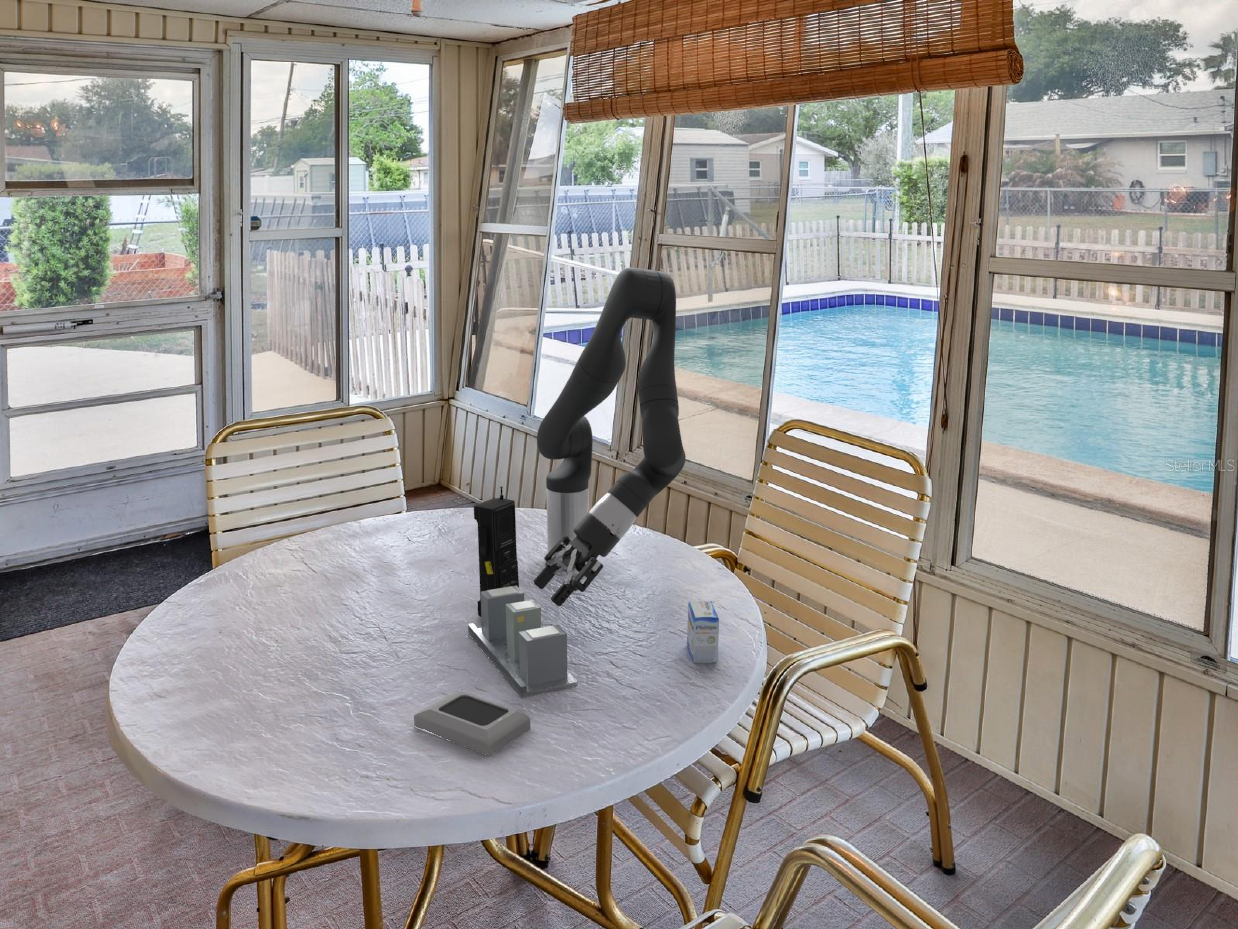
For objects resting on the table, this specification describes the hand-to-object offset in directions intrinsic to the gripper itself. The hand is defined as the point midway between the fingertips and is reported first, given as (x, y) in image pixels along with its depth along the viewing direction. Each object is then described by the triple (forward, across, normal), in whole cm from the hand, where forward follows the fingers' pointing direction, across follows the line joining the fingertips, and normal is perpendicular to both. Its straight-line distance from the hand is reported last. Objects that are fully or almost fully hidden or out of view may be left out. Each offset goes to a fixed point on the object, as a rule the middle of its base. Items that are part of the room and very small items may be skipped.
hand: (545, 594), depth 181 cm
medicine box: (-10, +12, +25) cm, 30 cm away
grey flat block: (+22, +21, -6) cm, 31 cm away
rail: (+11, +1, +4) cm, 12 cm away
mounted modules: (+11, +1, +4) cm, 12 cm away
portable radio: (+10, -19, +6) cm, 23 cm away
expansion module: (+10, +1, +4) cm, 11 cm away
